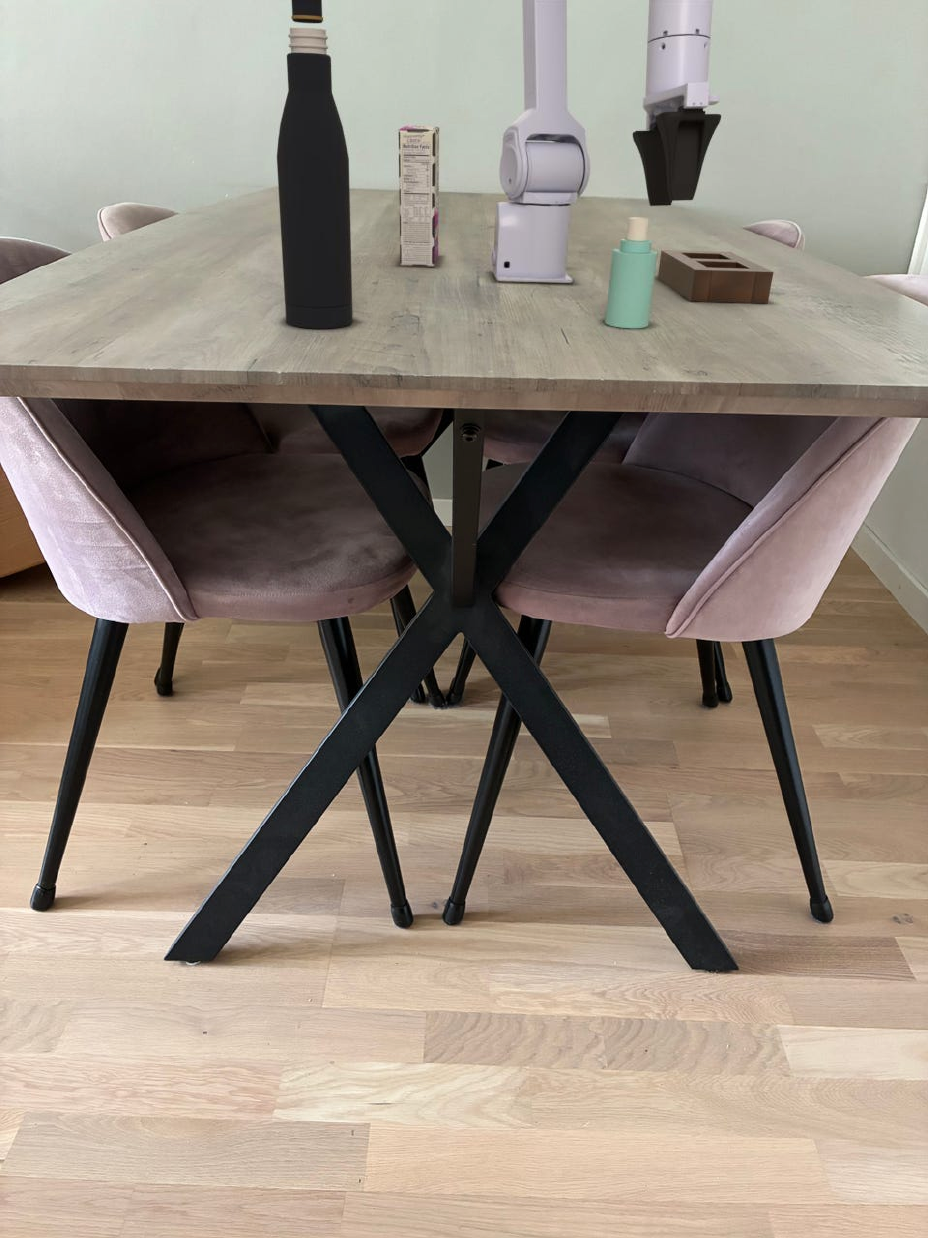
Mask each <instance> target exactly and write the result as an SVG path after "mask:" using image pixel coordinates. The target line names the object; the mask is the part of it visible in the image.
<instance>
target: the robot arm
mask: <svg viewBox="0 0 928 1238" xmlns="http://www.w3.org/2000/svg"><path fill="white" fill-rule="evenodd" d="M521 1H522V3H521V4H522V6H521V7H522V50H523V51H522V53H523V54H522V55H523V56H522V57H523V59H522V60H523V103H524V105H523V106H524V107H523V108H524V112H523V113H522V114H521V115H520V116H518V117H517V118H516V119H515V120H514V121H513V122H512V123H511V124H510V125H509V126H508V127H507V128H506V130H505V131H504V132H503V135H502V150H501V156H500V160H499V181H500V185H501V188H502V190H503V191H504V194H505V195H506V196H507V198H508V199H507V200H508V201H499V202H496V206H495V213H494V214H495V215H494V228H493V229H494V231H493V232H494V233H493V250H492V251H491V266H492V268H491V272H492V274H493V275H494V278H495V280H496V281H497V282H517V283H520V282H521V283H553V284H572V283H573V282H574V281H573V278H572V277H571V276H570V274H569V273H567V266H568V265H567V263H568V252H569V240H570V227H571V218H572V217H571V215H572V206H573V205H572V204H577V203H578V198H579V197H581V196H582V195H583V193H584V191H585V190H586V188H587V186H588V184H589V180H590V175H591V161H590V160H591V159H590V155H589V153H588V148H587V142H586V141H587V140H586V129H585V128H584V126H583V125H582V124H581V122H579V120H577V119H576V118H575V117H574V116H573V115H572V114H571V112H570V111H569V110H568V23H567V22H568V20H567V19H568V15H567V12H568V11H567V9H568V8H567V6H568V4H567V0H521ZM713 2H714V0H648V16H647V17H648V20H647V21H648V22H647V43H646V44H647V45H646V46H647V47H646V69H645V70H646V71H645V96H644V97H643V98H642V108H643V110H644V111H645V112H646V115H645V116H646V117H645V120H646V121H645V130H635V131H633V132H632V141H633V142H634V144H635V146H636V148H637V151H638V154H639V156H640V161H641V163H642V167H643V172H644V173H643V174H644V179H645V186H646V194H647V199H648V204H649V206H650V207H662V206H663V207H665V206H666V207H667V206H672V204H673V202H675V201H677V202H679V201H694V198H695V195H696V192H697V188H698V185H699V181H700V176H701V172H702V168H703V164H704V162H705V158H706V154H707V151H708V149H709V146H710V143H711V141H712V138H713V136H714V134H715V132H716V130H717V128H718V127H719V124H721V120H722V115H721V114H720V113H706V110H704V109H706V108H708V107H709V106H714V105H717V104H719V102H720V94H719V93H710V89H711V88H710V86H711V82H710V81H709V67H710V50H711V36H712V35H711V34H712V33H711V32H712V18H713Z"/></svg>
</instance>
